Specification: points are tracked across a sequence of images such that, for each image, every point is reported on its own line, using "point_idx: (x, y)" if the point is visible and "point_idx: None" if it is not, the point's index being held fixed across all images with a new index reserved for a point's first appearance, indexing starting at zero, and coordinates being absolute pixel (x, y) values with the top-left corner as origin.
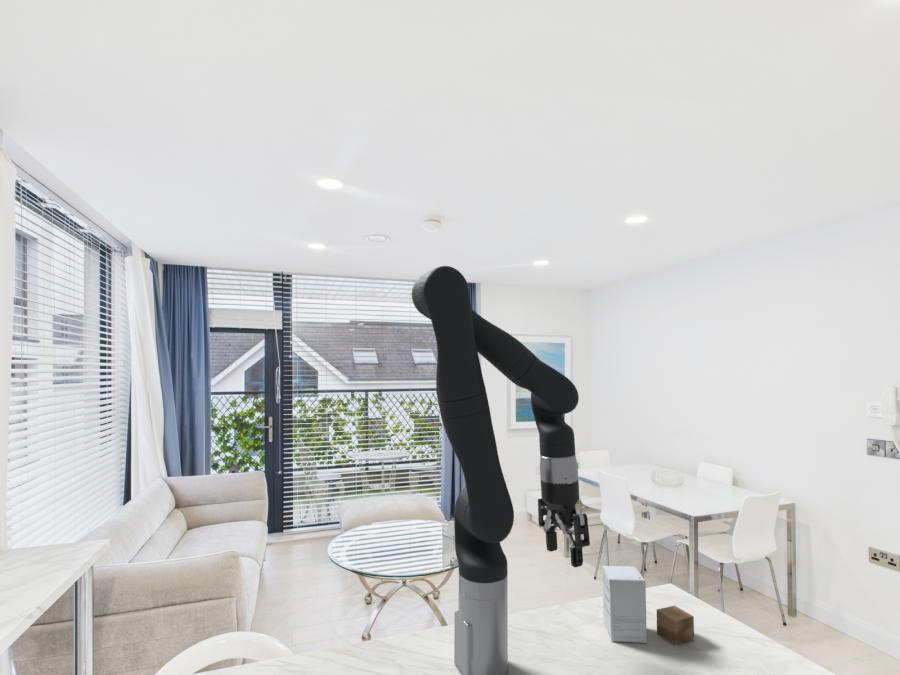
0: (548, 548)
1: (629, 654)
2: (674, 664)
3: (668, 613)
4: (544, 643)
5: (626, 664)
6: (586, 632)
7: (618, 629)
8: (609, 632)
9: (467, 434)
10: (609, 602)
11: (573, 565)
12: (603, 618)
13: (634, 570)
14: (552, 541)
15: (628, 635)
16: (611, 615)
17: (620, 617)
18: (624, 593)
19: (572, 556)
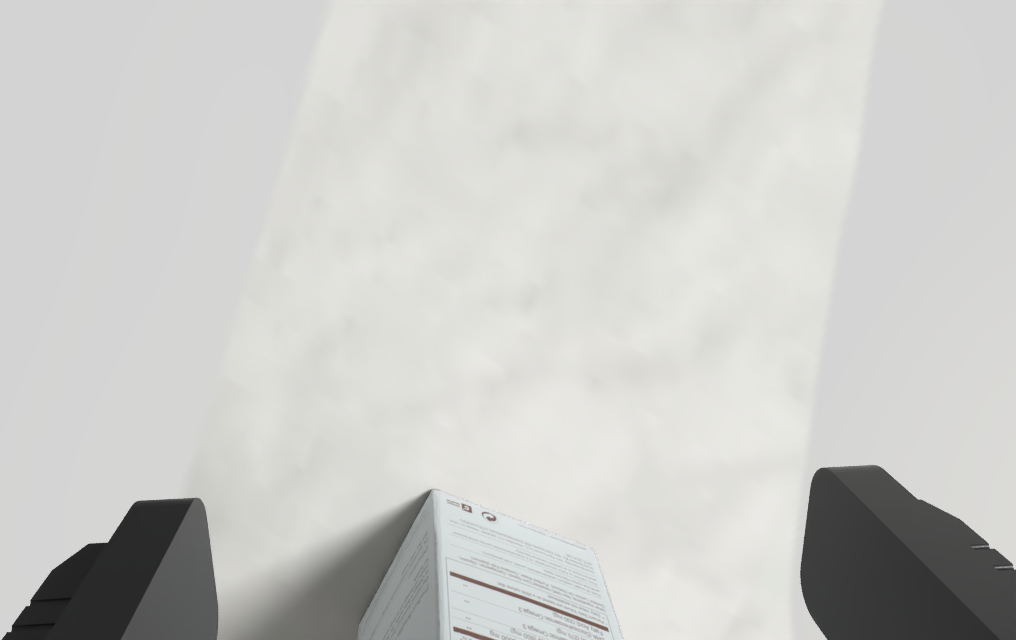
0: (842, 482)
1: (303, 500)
2: None
3: None
4: (559, 133)
5: (228, 436)
6: (560, 421)
7: (414, 557)
8: (465, 514)
9: None
10: (457, 630)
11: (135, 509)
12: (596, 563)
13: None
14: (882, 619)
15: (391, 578)
16: (433, 578)
17: (409, 613)
18: None
19: (84, 594)
